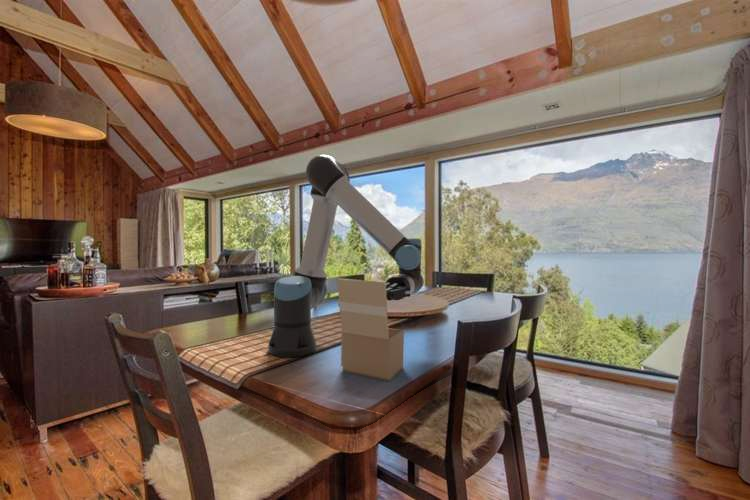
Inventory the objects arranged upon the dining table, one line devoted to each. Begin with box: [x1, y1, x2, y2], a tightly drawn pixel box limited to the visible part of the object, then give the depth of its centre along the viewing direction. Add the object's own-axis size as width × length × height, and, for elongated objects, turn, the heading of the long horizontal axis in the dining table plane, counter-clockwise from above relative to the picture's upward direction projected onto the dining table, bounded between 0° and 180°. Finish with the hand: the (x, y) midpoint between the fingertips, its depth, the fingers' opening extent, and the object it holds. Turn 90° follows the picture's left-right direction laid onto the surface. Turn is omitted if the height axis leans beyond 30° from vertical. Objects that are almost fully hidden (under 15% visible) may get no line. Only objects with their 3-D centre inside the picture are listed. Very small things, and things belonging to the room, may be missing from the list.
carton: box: [340, 327, 405, 382], centre depth 96 cm, size 15×10×11 cm
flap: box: [336, 277, 389, 339], centre depth 89 cm, size 14×15×1 cm
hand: (366, 299), depth 89 cm, fingers closed
